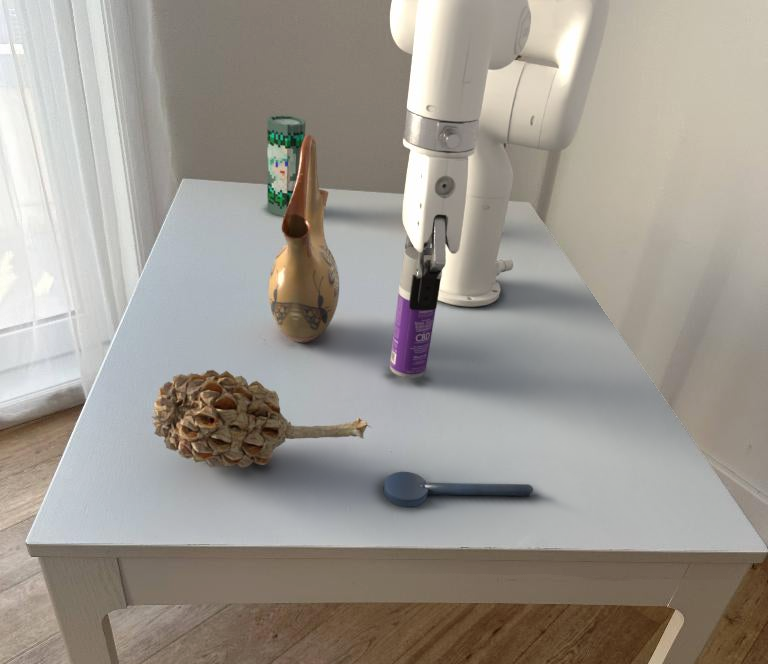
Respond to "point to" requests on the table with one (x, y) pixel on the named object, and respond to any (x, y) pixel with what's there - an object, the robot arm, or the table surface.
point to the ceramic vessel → (304, 259)
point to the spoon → (441, 489)
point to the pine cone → (229, 420)
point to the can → (283, 159)
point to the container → (410, 326)
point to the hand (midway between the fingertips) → (417, 296)
